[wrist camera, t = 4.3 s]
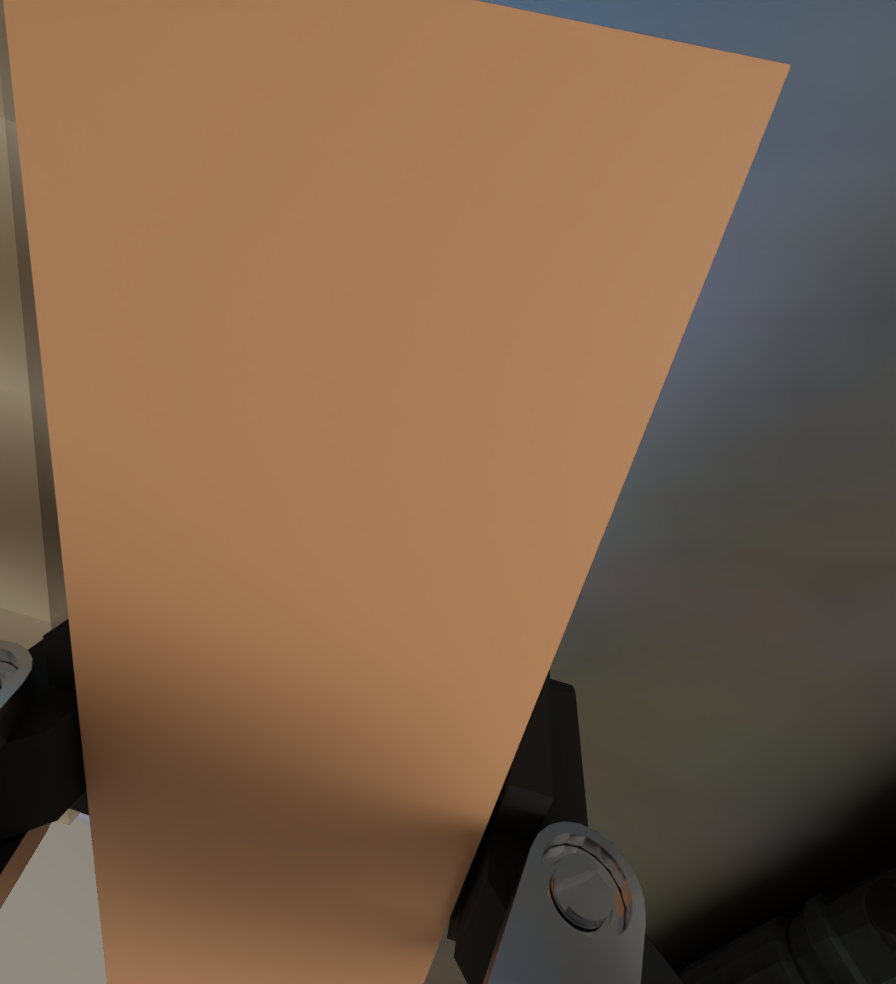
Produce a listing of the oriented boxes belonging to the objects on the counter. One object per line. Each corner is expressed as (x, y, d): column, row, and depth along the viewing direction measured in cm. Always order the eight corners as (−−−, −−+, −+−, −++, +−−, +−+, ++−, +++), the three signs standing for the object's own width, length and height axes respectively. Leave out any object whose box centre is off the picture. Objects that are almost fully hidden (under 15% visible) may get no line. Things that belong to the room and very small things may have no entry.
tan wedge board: (375, 180, 10) (-8, -100, 3) (606, 233, 10) (790, 64, 3) (299, 716, 17) (112, 1044, 9) (440, 761, 16) (361, 1136, 9)
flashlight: (1199, 761, 14) (1538, 988, 9) (670, 1022, 21) (710, 1219, 17) (1072, 665, 13) (1358, 852, 9) (579, 966, 21) (594, 1151, 16)
